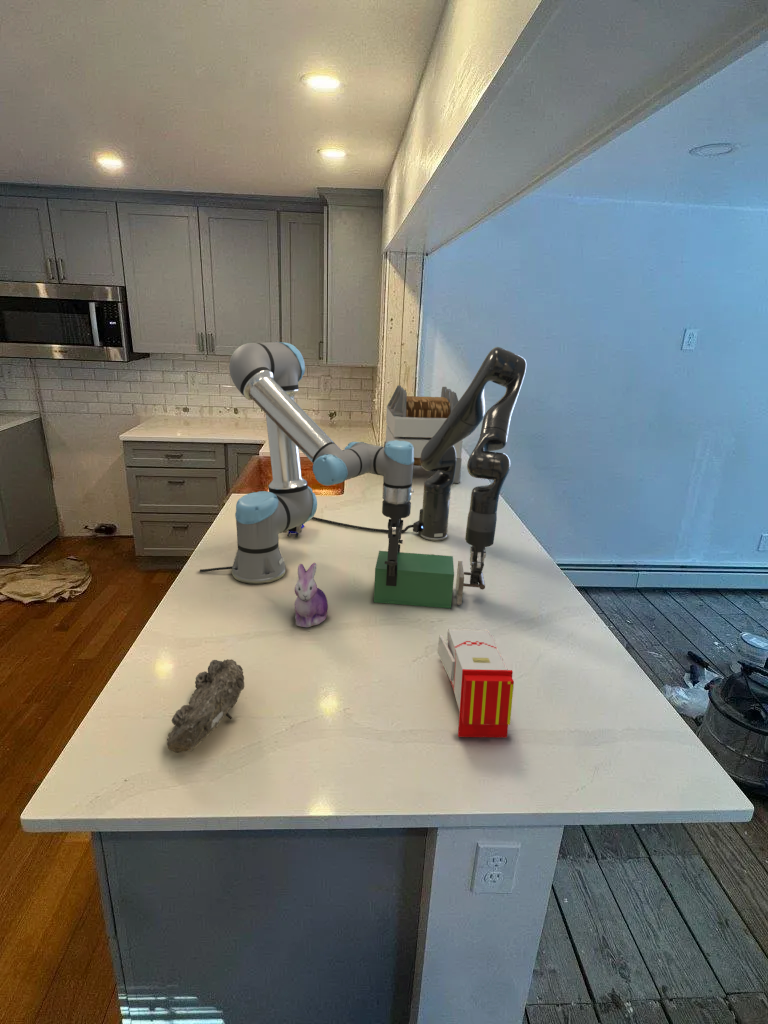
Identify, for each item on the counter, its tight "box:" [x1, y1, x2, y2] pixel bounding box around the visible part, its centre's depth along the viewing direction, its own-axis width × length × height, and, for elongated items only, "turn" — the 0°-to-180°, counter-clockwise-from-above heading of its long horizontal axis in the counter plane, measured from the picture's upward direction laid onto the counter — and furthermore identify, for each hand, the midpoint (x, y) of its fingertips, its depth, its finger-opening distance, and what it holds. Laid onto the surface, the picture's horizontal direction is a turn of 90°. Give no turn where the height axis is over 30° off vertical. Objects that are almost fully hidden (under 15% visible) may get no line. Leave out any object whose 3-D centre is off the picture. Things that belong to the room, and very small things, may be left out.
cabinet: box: [373, 550, 455, 609], centre depth 156 cm, size 21×12×10 cm, turn 85°
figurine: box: [293, 562, 329, 628], centre depth 140 cm, size 9×10×15 cm
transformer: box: [383, 384, 464, 484], centre depth 268 cm, size 34×33×41 cm
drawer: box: [455, 560, 486, 606], centre depth 155 cm, size 25×10×8 cm, turn 85°
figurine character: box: [282, 524, 305, 538], centre depth 196 cm, size 7×8×15 cm
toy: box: [437, 628, 515, 738], centre depth 117 cm, size 12×13×30 cm
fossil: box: [166, 658, 245, 754], centre depth 106 cm, size 22×10×15 cm
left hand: (392, 575), depth 156 cm, fingers closed on cabinet, 12 cm apart
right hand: (473, 584), depth 155 cm, fingers closed
